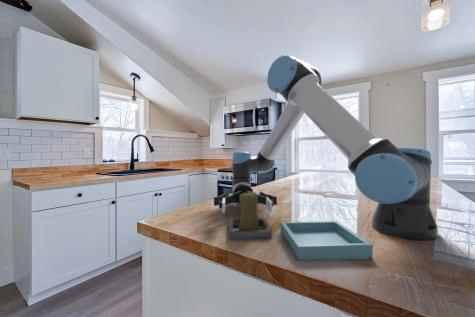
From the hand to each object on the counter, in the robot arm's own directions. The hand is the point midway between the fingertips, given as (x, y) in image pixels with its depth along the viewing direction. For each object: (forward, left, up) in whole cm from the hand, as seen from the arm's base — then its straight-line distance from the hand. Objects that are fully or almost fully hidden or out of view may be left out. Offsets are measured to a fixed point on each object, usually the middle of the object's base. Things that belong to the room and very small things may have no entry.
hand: (247, 207), depth 64 cm
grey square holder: (0, 0, -7) cm, 7 cm away
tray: (-19, +3, -7) cm, 21 cm away
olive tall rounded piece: (0, 0, -7) cm, 7 cm away
